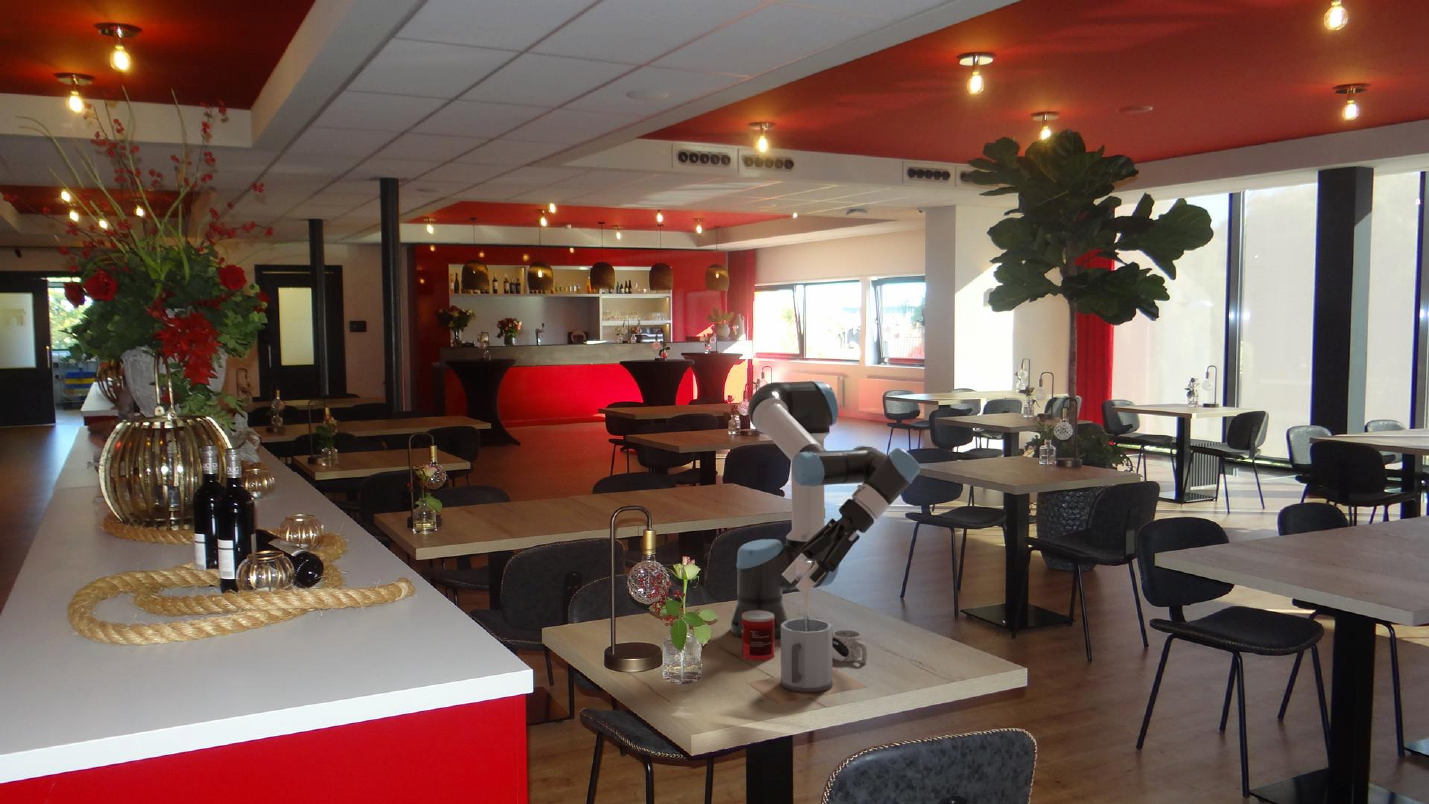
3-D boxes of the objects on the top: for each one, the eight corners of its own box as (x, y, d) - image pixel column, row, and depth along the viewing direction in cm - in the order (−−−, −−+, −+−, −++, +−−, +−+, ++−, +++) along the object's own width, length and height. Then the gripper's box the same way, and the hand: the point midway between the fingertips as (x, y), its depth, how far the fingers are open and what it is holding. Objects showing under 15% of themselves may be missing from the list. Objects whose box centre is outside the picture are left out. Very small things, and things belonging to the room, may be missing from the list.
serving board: (777, 709, 204) (777, 703, 204) (746, 688, 217) (746, 682, 217) (867, 692, 214) (867, 686, 214) (832, 672, 226) (832, 667, 226)
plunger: (783, 648, 213) (783, 563, 212) (795, 638, 220) (795, 556, 219) (817, 652, 210) (817, 566, 209) (828, 642, 217) (828, 558, 216)
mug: (826, 660, 235) (826, 633, 235) (847, 655, 239) (847, 628, 239) (855, 672, 227) (855, 643, 227) (876, 666, 231) (876, 638, 230)
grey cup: (769, 693, 210) (768, 632, 210) (790, 673, 223) (790, 616, 222) (820, 700, 206) (820, 638, 205) (839, 679, 218) (839, 621, 217)
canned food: (756, 653, 242) (756, 608, 241) (781, 660, 236) (781, 614, 235) (734, 660, 236) (734, 614, 236) (759, 668, 230) (759, 621, 230)
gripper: (834, 489, 226) (767, 561, 224) (869, 505, 204) (795, 585, 202) (856, 512, 227) (790, 583, 225) (893, 530, 205) (820, 610, 203)
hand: (792, 584), depth 214 cm, fingers open, 10 cm apart
